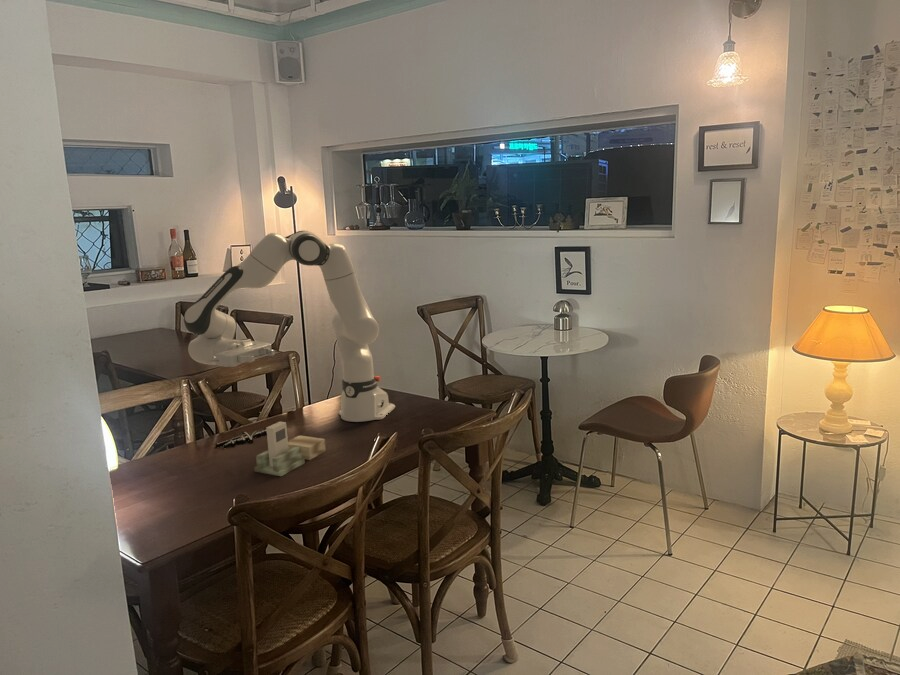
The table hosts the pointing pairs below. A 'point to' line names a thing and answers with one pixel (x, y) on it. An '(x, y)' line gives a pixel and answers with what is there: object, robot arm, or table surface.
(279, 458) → the rack
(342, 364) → the robot arm
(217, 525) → the table surface
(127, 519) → the table surface
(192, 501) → the table surface
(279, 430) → the white block with panel
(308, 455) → the stand
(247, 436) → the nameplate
